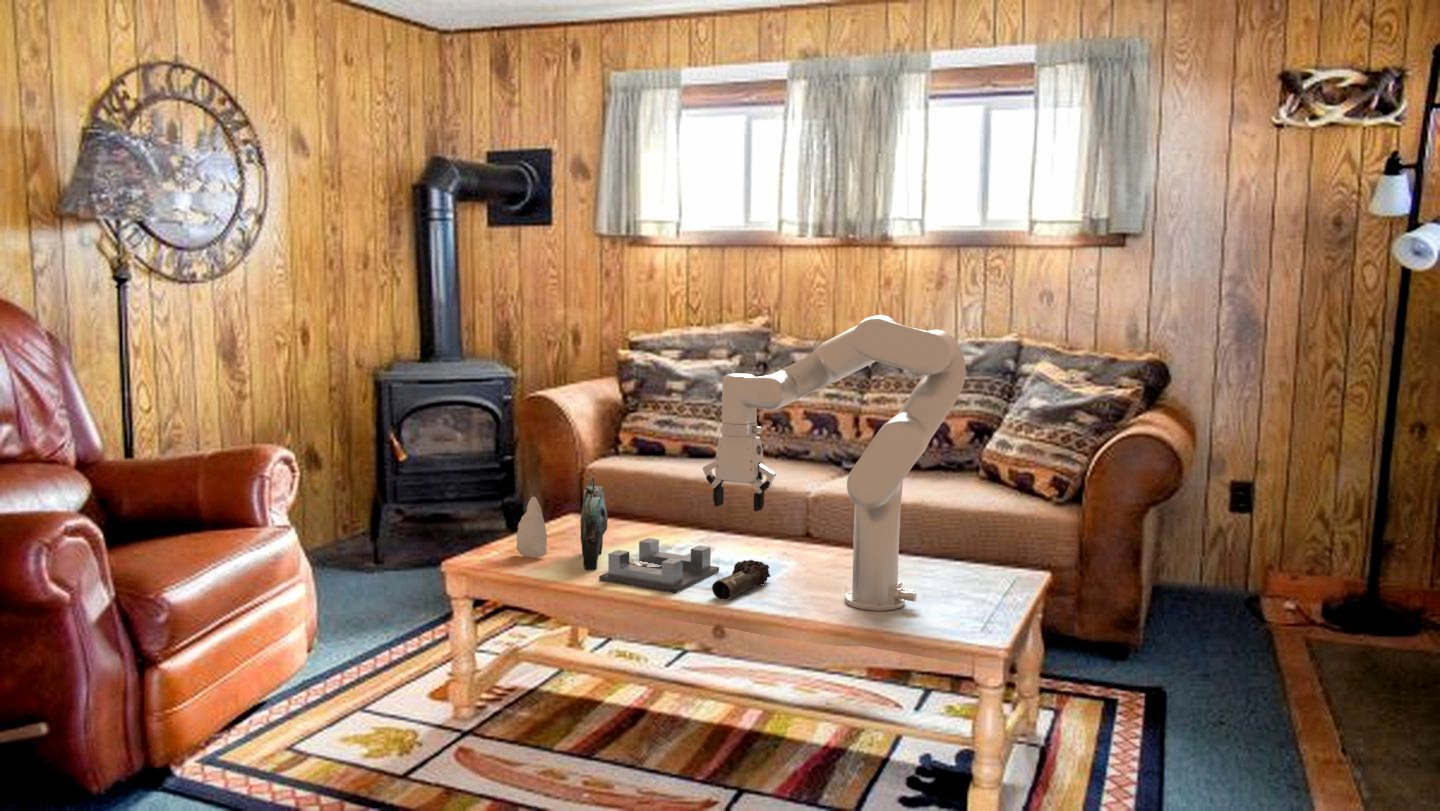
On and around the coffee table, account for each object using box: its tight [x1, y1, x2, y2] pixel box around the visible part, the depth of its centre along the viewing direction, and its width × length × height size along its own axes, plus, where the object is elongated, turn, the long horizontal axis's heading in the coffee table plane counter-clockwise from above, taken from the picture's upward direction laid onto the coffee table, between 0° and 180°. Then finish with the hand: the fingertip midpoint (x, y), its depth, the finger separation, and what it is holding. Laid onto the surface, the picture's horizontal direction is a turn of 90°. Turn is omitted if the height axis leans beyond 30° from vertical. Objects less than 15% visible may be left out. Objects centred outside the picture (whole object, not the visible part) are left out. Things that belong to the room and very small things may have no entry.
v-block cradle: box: [598, 537, 720, 594], centre depth 249 cm, size 20×20×6 cm
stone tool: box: [516, 496, 548, 559], centre depth 264 cm, size 8×3×15 cm, turn 70°
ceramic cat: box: [580, 476, 609, 571], centre depth 262 cm, size 20×6×20 cm, turn 2°
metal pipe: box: [711, 559, 771, 601], centre depth 239 cm, size 18×7×6 cm, turn 146°
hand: (738, 507), depth 238 cm, fingers open, 9 cm apart
